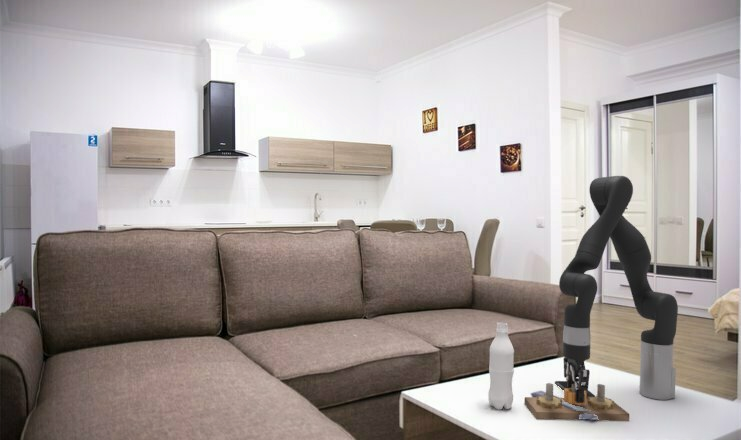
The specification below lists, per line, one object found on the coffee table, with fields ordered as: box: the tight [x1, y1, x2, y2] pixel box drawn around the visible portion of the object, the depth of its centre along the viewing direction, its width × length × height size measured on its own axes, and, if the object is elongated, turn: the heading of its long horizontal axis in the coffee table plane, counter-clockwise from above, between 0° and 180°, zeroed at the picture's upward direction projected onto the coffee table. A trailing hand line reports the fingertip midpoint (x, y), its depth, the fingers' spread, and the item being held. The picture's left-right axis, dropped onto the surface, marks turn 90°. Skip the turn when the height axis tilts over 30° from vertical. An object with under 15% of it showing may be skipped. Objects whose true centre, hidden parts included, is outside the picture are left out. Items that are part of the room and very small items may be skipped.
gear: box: [563, 388, 586, 405], centre depth 155 cm, size 6×6×3 cm
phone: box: [554, 380, 596, 398], centre depth 174 cm, size 8×1×15 cm
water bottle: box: [488, 321, 515, 410], centre depth 158 cm, size 7×7×25 cm
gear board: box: [524, 382, 630, 422], centre depth 155 cm, size 26×12×8 cm, turn 90°
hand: (575, 398), depth 155 cm, fingers closed on gear, 6 cm apart
